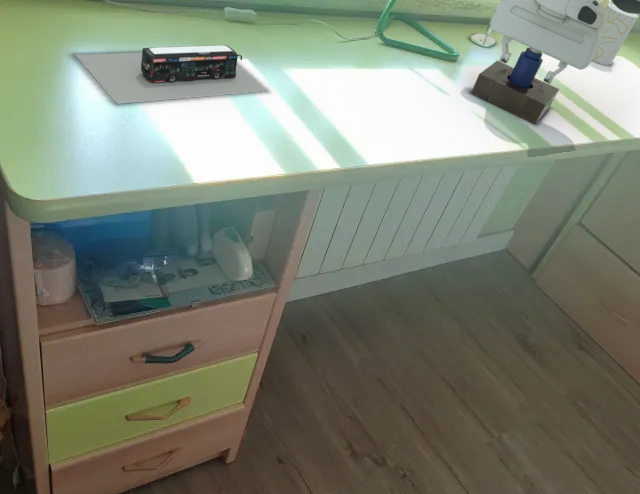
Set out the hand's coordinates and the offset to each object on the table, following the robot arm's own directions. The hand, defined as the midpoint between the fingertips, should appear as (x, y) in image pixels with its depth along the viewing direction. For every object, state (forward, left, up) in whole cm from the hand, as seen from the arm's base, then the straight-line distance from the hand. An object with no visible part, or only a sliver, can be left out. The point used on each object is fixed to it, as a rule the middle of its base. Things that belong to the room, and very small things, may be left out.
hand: (525, 71), depth 118 cm
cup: (-8, -56, -6) cm, 57 cm away
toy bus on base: (+42, +53, -6) cm, 68 cm away
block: (0, 0, -6) cm, 6 cm away
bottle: (0, 0, -6) cm, 6 cm away
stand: (+16, -28, -6) cm, 33 cm away
